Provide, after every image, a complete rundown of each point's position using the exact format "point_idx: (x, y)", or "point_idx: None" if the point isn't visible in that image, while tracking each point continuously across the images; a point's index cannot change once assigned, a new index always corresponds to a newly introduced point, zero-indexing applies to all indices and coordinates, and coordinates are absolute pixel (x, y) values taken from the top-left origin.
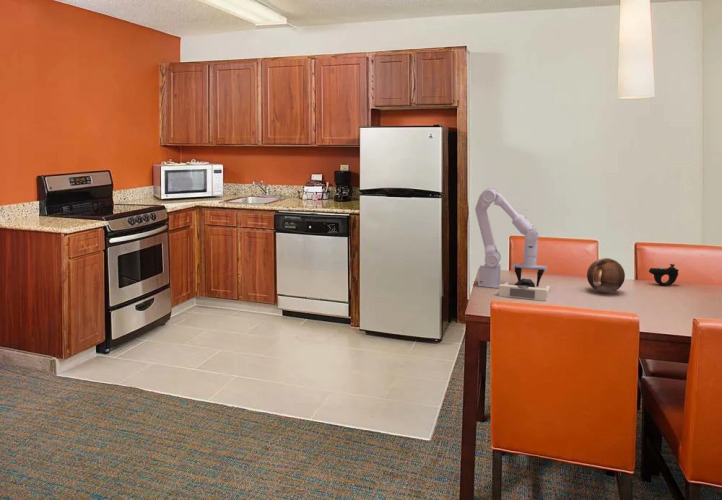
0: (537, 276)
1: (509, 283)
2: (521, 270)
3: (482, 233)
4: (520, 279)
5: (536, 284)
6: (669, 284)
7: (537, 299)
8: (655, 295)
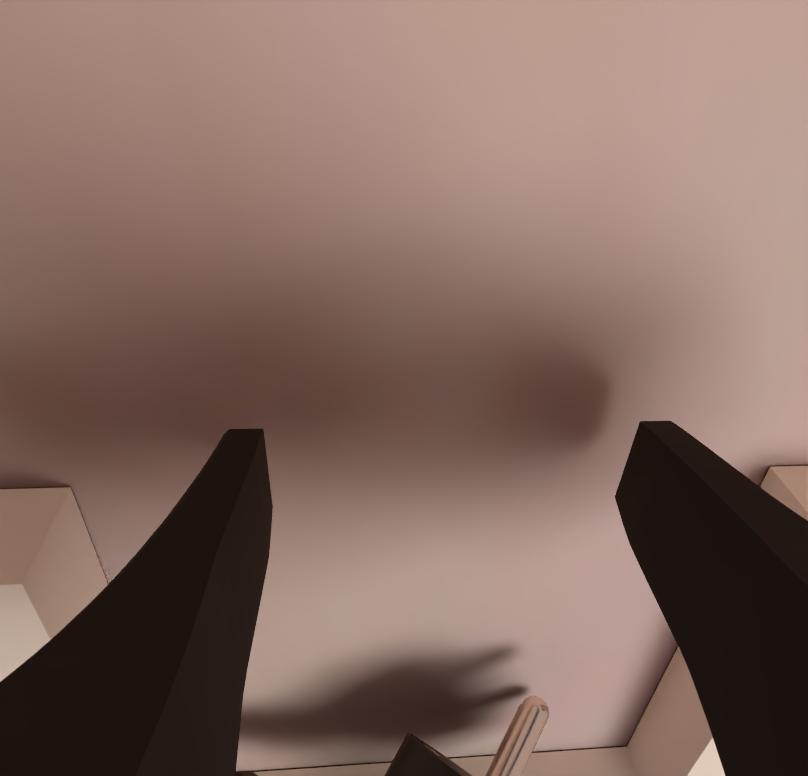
0: (731, 769)
1: (41, 570)
2: (157, 761)
3: None
4: (245, 568)
5: (632, 546)
6: None
7: None
8: None
